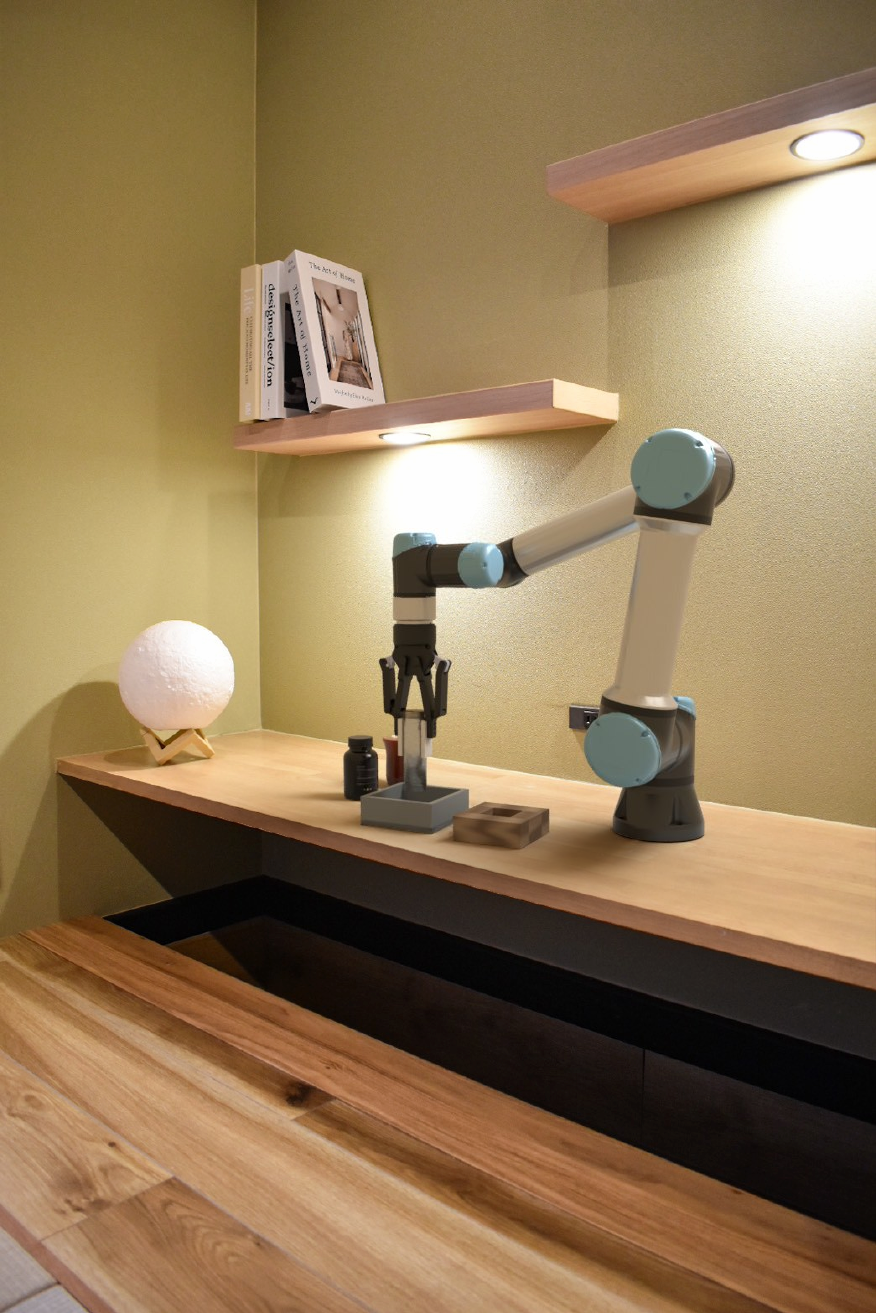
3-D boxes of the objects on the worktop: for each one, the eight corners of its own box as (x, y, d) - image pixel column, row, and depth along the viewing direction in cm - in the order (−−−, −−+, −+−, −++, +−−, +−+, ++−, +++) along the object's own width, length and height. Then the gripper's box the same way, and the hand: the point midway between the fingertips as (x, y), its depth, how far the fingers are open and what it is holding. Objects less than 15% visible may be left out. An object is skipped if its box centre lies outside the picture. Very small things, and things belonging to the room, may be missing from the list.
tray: (468, 816, 182) (468, 789, 181) (431, 833, 170) (431, 804, 169) (401, 808, 188) (401, 782, 188) (360, 824, 176) (360, 796, 176)
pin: (430, 788, 179) (430, 709, 178) (419, 792, 176) (419, 712, 175) (411, 786, 181) (410, 708, 180) (399, 790, 178) (399, 711, 177)
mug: (431, 789, 206) (431, 739, 205) (390, 792, 203) (390, 741, 202) (412, 778, 217) (411, 730, 217) (372, 781, 214) (372, 733, 214)
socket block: (549, 832, 170) (549, 808, 170) (520, 848, 160) (520, 823, 159) (484, 824, 176) (484, 801, 176) (452, 840, 165) (452, 815, 165)
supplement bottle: (338, 796, 200) (337, 735, 199) (370, 792, 203) (369, 733, 202) (351, 802, 194) (351, 740, 193) (384, 799, 197) (383, 737, 196)
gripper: (468, 622, 176) (468, 756, 177) (383, 620, 184) (384, 748, 185) (447, 623, 169) (448, 762, 171) (361, 622, 177) (362, 755, 179)
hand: (415, 755), depth 178 cm, fingers closed on pin, 4 cm apart
